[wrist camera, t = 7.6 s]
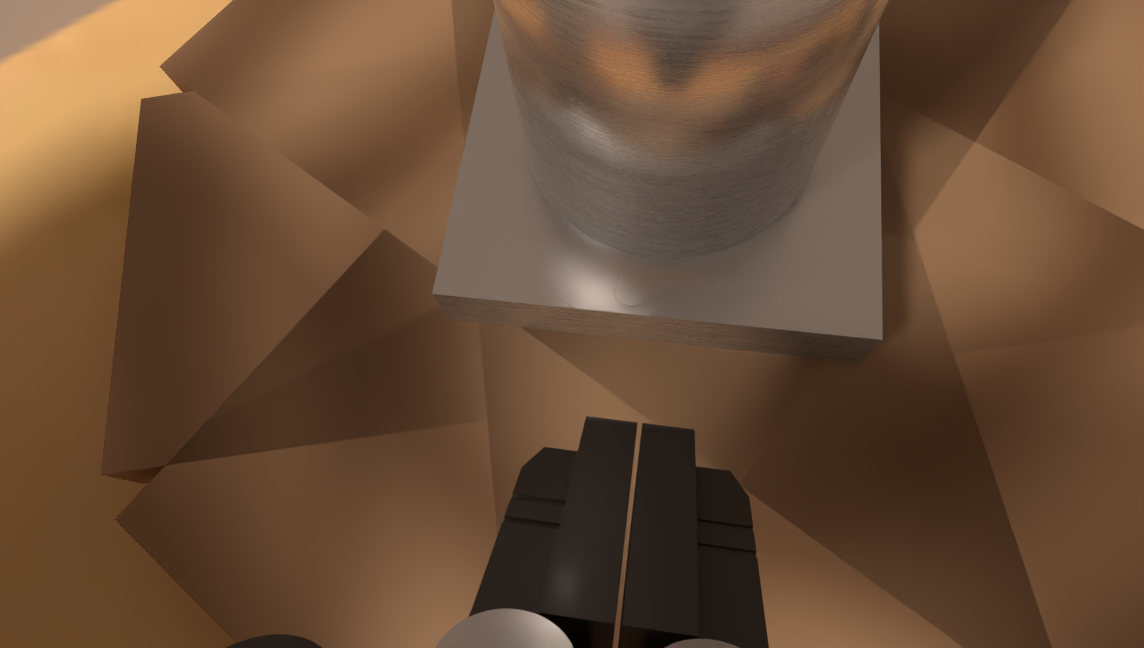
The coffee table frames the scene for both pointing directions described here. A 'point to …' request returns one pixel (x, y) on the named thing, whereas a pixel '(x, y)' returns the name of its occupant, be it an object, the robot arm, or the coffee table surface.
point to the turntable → (636, 344)
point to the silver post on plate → (675, 175)
